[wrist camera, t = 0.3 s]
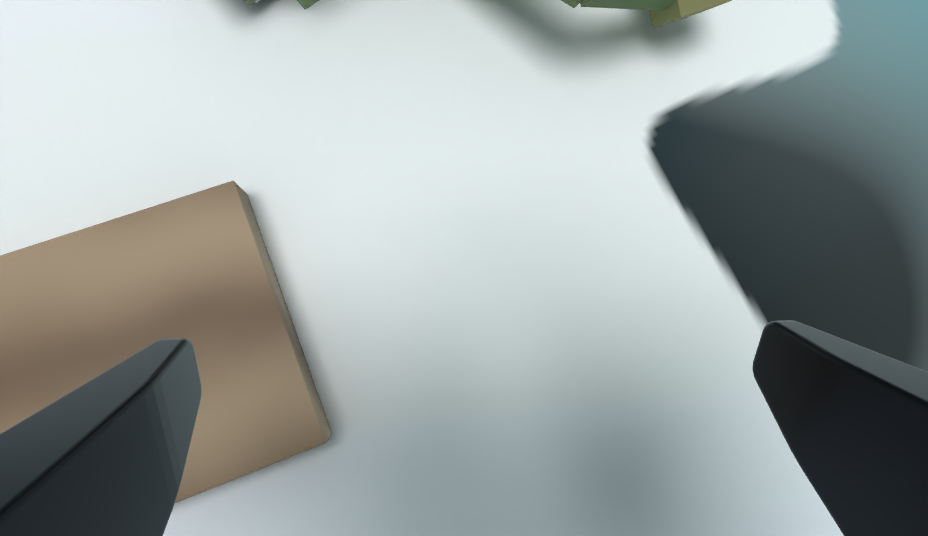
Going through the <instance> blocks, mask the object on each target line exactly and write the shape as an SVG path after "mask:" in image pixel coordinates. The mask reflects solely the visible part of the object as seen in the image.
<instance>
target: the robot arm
mask: <svg viewBox="0 0 928 536" xmlns="http://www.w3.org/2000/svg"><path fill="white" fill-rule="evenodd" d="M753 373H754V377H755V380H756V382H757V384H758V386H759V388H760V390H761V392H762V394H763V396H764V398H765V400H766V402H767V404H768V406H769V408H770V410H771V412H772V414H773V416H774V418H775V420H776V422H777V424H778V426H779V428H780V430H781V432H782V434H783V436H784V438H785V440H786V441H787V443H788V445H789V447H790V449H791V451H792V453H793V455H794V457H795V458H796V460H797V462H798V463H799V465H800V467H801V468H802V470H803V472H804V473H805V475H806V476H807V478H808V479H809V481H810V483H811V484H812V486H813V487H814V489H815V491H816V492H817V494H818V495H819V497H820V498H821V500H822V502H823V503H824V505H825V506H826V508H827V510H828V511H829V513H830V514H831V516H832V517H833V519H834V521H835V522H836V524H837V525H838V527H839V528H840V530H841V532H842V533H843V535H844V536H928V372H927V371H924V370H922V369H919V368H916V367H914V366H911V365H909V364H906V363H903V362H901V361H898V360H896V359H893V358H890V357H888V356H885V355H883V354H880V353H877V352H874V351H872V350H870V349H867V348H864V347H862V346H859V345H856V344H854V343H852V342H849V341H846V340H844V339H841V338H839V337H836V336H833V335H831V334H828V333H826V332H823V331H820V330H818V329H815V328H813V327H810V326H807V325H804V324H802V323H800V322H796V321H771V322H769V323H768V324H767V325H766V326H765V327H764V329H763V332H762V335H761V338H760V342H759V345H758V348H757V351H756V355H755V358H754V361H753ZM200 400H201V381H200V376H199V371H198V366H197V361H196V356H195V350H194V346H193V344H192V342H191V341H190V340H189V339H187V338H172V339H160V340H157V341H156V342H154V343H152V344H151V345H149V346H147V347H146V348H144V349H142V350H141V351H139V352H137V353H135V354H134V355H132V356H130V357H129V358H127V359H125V360H124V361H122V362H120V363H119V364H117V365H115V366H114V367H112V368H110V369H108V370H107V371H105V372H103V373H102V374H100V375H98V376H97V377H95V378H93V379H92V380H90V381H88V382H87V383H85V384H83V385H81V386H80V387H78V388H76V389H75V390H73V391H71V392H70V393H68V394H66V395H65V396H63V397H61V398H59V399H58V400H56V401H54V402H53V403H51V404H49V405H48V406H46V407H44V408H43V409H41V410H39V411H38V412H36V413H34V414H32V415H31V416H29V417H27V418H26V419H24V420H22V421H21V422H19V423H17V424H16V425H14V426H12V427H11V428H9V429H7V430H5V431H4V432H2V433H0V536H163V533H164V531H165V528H166V525H167V522H168V520H169V517H170V514H171V512H172V509H173V506H174V503H175V500H176V497H177V494H178V491H179V488H180V484H181V480H182V476H183V472H184V468H185V464H186V459H187V455H188V451H189V447H190V443H191V438H192V434H193V430H194V426H195V422H196V417H197V413H198V409H199V405H200Z"/></svg>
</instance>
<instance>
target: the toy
mask: <svg viewBox="0 0 928 536" xmlns="http://www.w3.org/2000/svg"><path fill="white" fill-rule="evenodd" d="M244 1H246V2H247V3H249V4H250V5H252V4H253V3H254V2H256V3H257V2H258V1H259V0H244ZM297 1H298V2H299V3H300V4H301V5H302V7H303V8H304V9H307V8H308V7H310V6H311V5H313V4H314V3H316V2H317V1H319V0H297ZM562 1H563V2H565V3H566V4H568V5H570V6H571V7H573V8H575V7H576V6H577V5H578V4H579V3H580V4H581V7H599V8H619V9H640V10H649V12H650V16H651V21H652V25H653V28H655V27H658V26H661V25H664V24H667V23H670V22H673V21H676V20H679V19H682V18H685V17H688V16H691V15H694V14H697V13H700V12H703V11H705V10H708V9H711V8H713V7H716V6H719V5H721V4H724V3H726V2H729V1H732V0H562Z"/></svg>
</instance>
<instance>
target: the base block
mask: <svg viewBox="0 0 928 536" xmlns="http://www.w3.org/2000/svg"><path fill="white" fill-rule="evenodd" d="M172 338H187V339H189V340H190V341H191V342H192V344H193V346H194V350H195V356H196V361H197V366H198V371H199V376H200V381H201V400H200V405H199V409H198V413H197V417H196V422H195V426H194V430H193V434H192V438H191V443H190V447H189V451H188V455H187V459H186V464H185V468H184V472H183V476H182V480H181V484H180V488H179V491H178V494H177V497H176V500H175V503H176V502H179V501H181V500H184V499H186V498H189V497H191V496H194V495H196V494H199V493H201V492H204V491H206V490H209V489H212V488H214V487H217V486H219V485H222V484H224V483H227V482H229V481H232V480H234V479H237V478H239V477H242V476H244V475H247V474H249V473H252V472H254V471H257V470H259V469H262V468H264V467H267V466H269V465H272V464H274V463H277V462H279V461H282V460H284V459H287V458H289V457H292V456H294V455H297V454H299V453H302V452H304V451H307V450H309V449H312V448H314V447H317V446H319V445H322V444H324V443H326V442H327V441H328V439H329V437H330V436H331V434H332V433H331V430H330V427H329V425H328V422H327V419H326V416H325V413H324V410H323V408H322V405H321V402H320V399H319V396H318V394H317V391H316V388H315V385H314V382H313V379H312V377H311V374H310V371H309V368H308V365H307V363H306V360H305V357H304V354H303V351H302V348H301V346H300V343H299V340H298V337H297V334H296V332H295V329H294V326H293V323H292V320H291V317H290V315H289V312H288V309H287V306H286V303H285V300H284V298H283V295H282V292H281V289H280V286H279V284H278V281H277V278H276V275H275V272H274V269H273V267H272V264H271V261H270V258H269V255H268V253H267V250H266V247H265V244H264V241H263V238H262V236H261V233H260V230H259V227H258V224H257V221H256V219H255V216H254V213H253V210H252V207H251V205H250V202H249V199H248V196H247V194H246V193H245V192H244V191H243V190H242V189H241V188H240V187H239V186H238V185H237V184H236V183H235V182H234V181H231V182H228V183H225V184H221V185H218V186H215V187H212V188H209V189H206V190H203V191H200V192H197V193H194V194H190V195H187V196H184V197H181V198H178V199H175V200H172V201H169V202H166V203H162V204H159V205H156V206H153V207H150V208H147V209H144V210H141V211H138V212H135V213H131V214H128V215H125V216H122V217H119V218H116V219H113V220H110V221H107V222H104V223H100V224H97V225H94V226H91V227H88V228H85V229H82V230H79V231H76V232H73V233H69V234H66V235H63V236H60V237H57V238H54V239H51V240H48V241H45V242H41V243H38V244H35V245H32V246H29V247H26V248H23V249H20V250H17V251H14V252H10V253H7V254H4V255H1V256H0V433H2V432H4V431H5V430H7V429H9V428H11V427H12V426H14V425H16V424H17V423H19V422H21V421H22V420H24V419H26V418H27V417H29V416H31V415H32V414H34V413H36V412H38V411H39V410H41V409H43V408H44V407H46V406H48V405H49V404H51V403H53V402H54V401H56V400H58V399H59V398H61V397H63V396H65V395H66V394H68V393H70V392H71V391H73V390H75V389H76V388H78V387H80V386H81V385H83V384H85V383H87V382H88V381H90V380H92V379H93V378H95V377H97V376H98V375H100V374H102V373H103V372H105V371H107V370H108V369H110V368H112V367H114V366H115V365H117V364H119V363H120V362H122V361H124V360H125V359H127V358H129V357H130V356H132V355H134V354H135V353H137V352H139V351H141V350H142V349H144V348H146V347H147V346H149V345H151V344H152V343H154V342H156V341H157V340H160V339H172Z"/></svg>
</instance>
